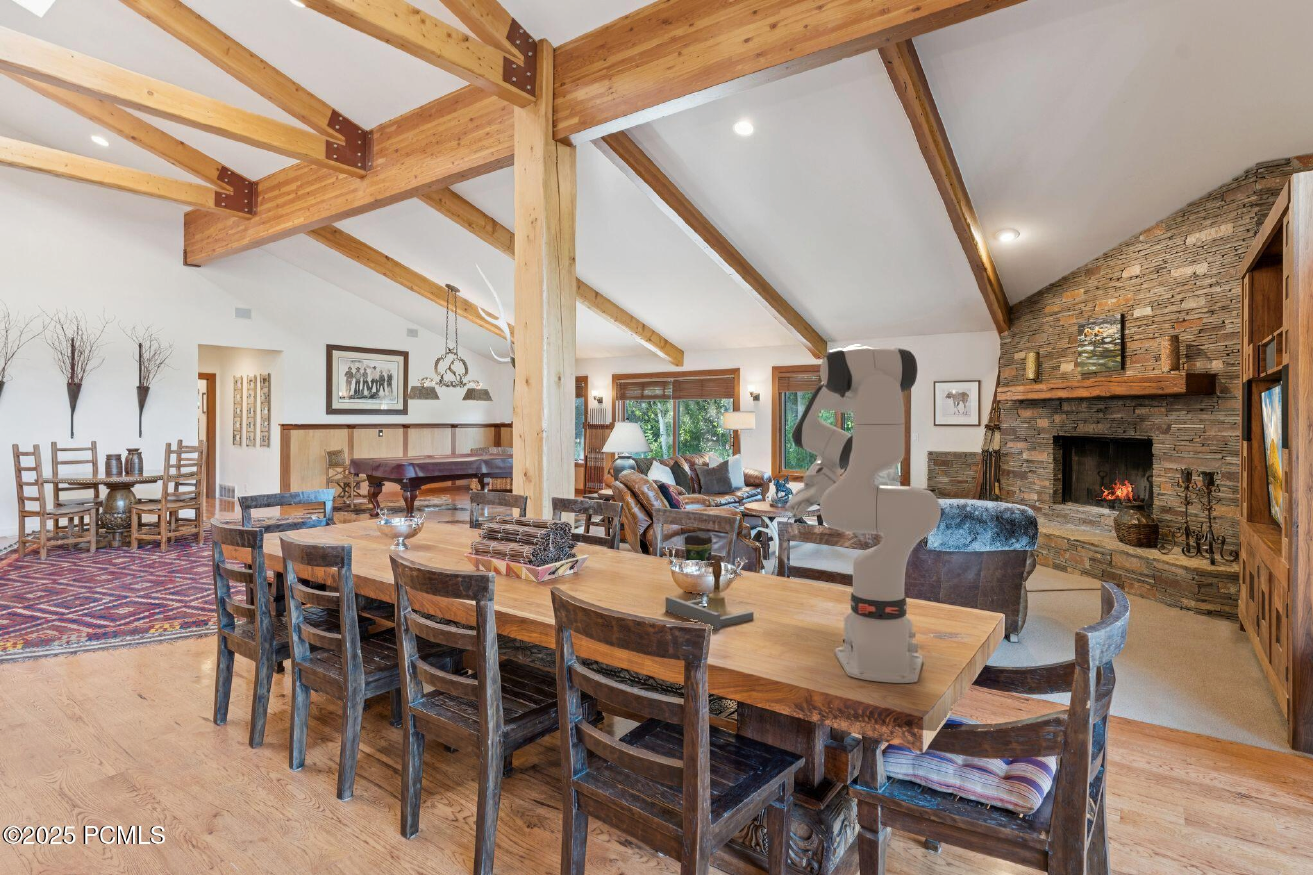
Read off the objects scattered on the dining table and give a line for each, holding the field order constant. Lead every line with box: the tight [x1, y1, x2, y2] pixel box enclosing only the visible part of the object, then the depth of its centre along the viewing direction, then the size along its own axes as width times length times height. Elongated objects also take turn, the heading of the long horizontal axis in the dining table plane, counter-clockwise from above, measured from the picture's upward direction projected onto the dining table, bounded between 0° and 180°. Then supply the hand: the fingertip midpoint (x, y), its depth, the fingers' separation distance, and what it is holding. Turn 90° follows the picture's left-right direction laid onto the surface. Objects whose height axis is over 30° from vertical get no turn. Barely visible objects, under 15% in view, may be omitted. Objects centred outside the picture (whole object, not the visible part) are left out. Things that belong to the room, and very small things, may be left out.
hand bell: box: [704, 556, 732, 617], centre depth 185 cm, size 8×8×16 cm
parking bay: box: [665, 595, 755, 631], centre depth 184 cm, size 15×22×4 cm, turn 35°
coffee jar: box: [684, 530, 713, 563], centre depth 214 cm, size 10×8×19 cm
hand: (796, 516), depth 189 cm, fingers closed
